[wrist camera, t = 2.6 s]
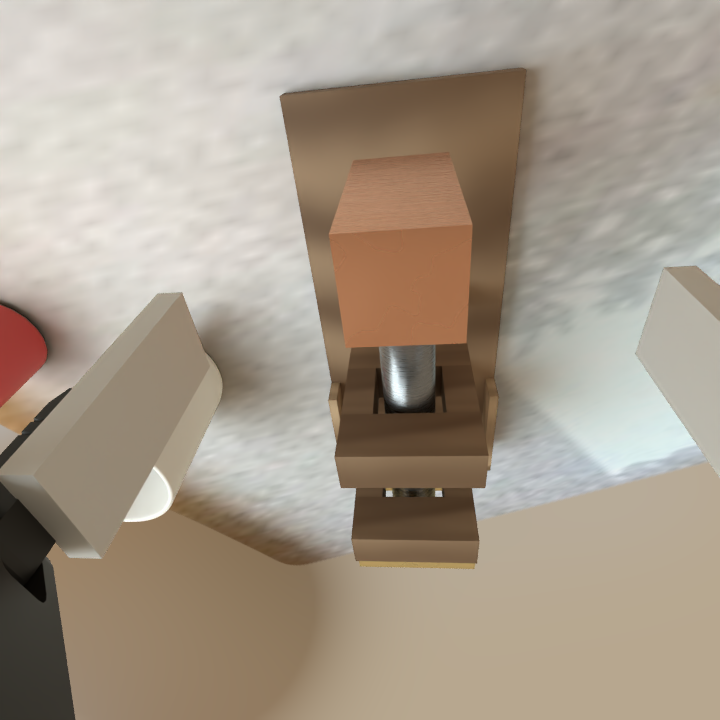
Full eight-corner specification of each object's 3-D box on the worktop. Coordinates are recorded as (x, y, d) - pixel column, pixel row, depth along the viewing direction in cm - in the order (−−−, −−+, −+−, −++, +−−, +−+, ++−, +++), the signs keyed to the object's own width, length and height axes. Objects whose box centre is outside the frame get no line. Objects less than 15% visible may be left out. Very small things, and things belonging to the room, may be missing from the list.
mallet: (353, 160, 19) (328, 234, 13) (448, 151, 19) (472, 224, 12) (386, 479, 32) (382, 593, 26) (442, 478, 32) (453, 595, 25)
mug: (259, 331, 33) (210, 442, 25) (205, 424, 40) (152, 536, 31) (144, 273, 31) (47, 372, 22) (108, 382, 37) (22, 490, 29)
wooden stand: (283, 93, 23) (163, 178, 12) (521, 67, 22) (659, 134, 10) (345, 443, 40) (321, 626, 28) (484, 442, 38) (521, 634, 27)
